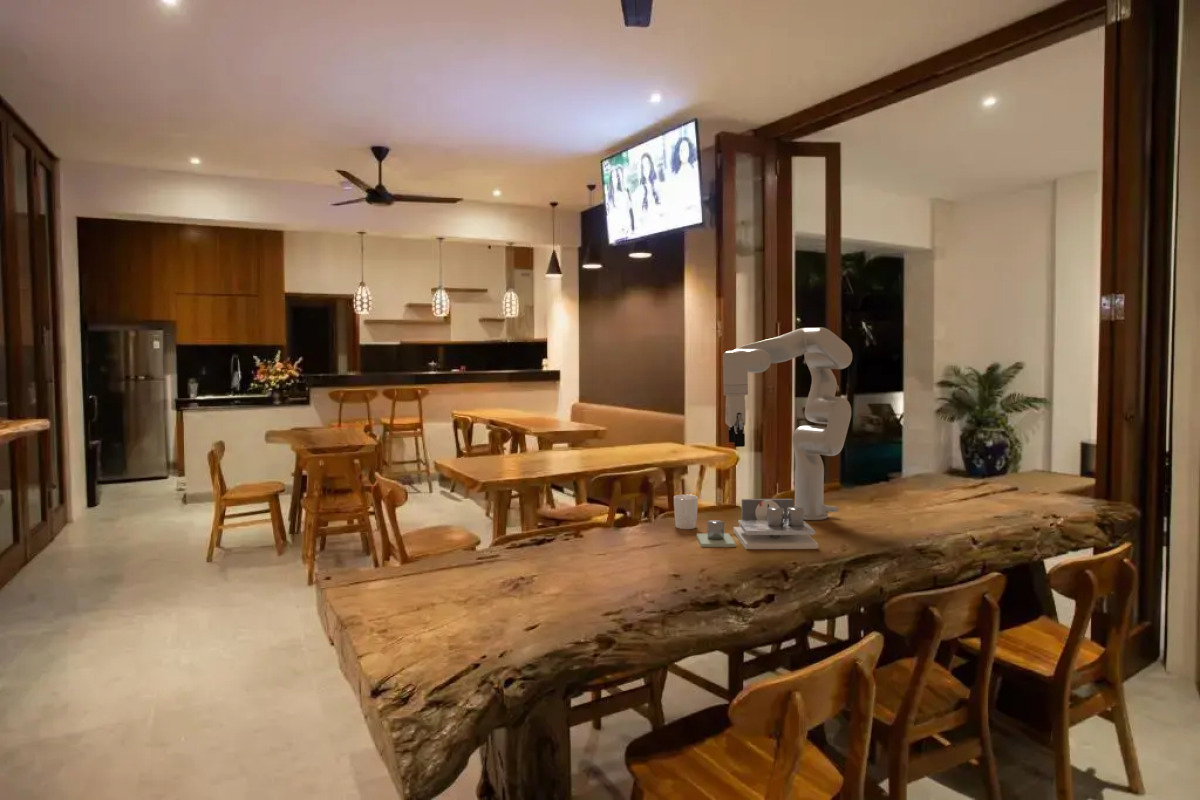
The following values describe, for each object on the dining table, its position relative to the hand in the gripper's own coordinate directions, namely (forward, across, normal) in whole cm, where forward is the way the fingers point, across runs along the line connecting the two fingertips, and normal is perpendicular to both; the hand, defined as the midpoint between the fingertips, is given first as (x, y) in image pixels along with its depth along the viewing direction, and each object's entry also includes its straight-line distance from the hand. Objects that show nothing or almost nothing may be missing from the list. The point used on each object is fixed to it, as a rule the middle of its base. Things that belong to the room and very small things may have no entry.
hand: (736, 444), depth 237 cm
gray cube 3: (+27, +12, -9) cm, 31 cm away
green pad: (+28, +12, -9) cm, 31 cm away
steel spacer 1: (+23, +12, +9) cm, 28 cm away
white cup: (+28, -7, -16) cm, 33 cm away
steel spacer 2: (+23, +12, +15) cm, 30 cm away
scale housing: (+28, +10, +9) cm, 31 cm away
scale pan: (+24, +12, +9) cm, 29 cm away
